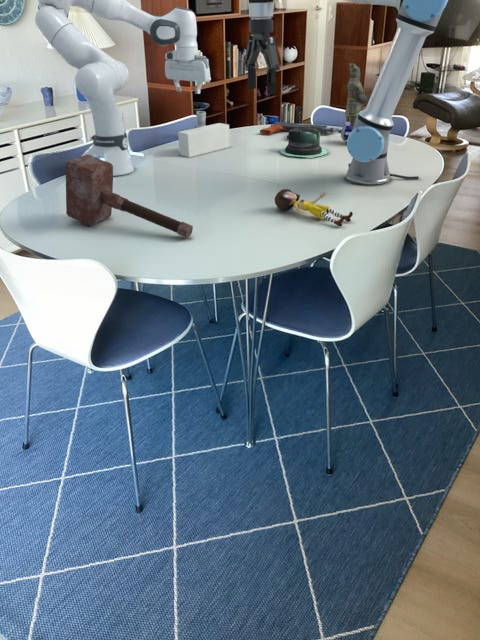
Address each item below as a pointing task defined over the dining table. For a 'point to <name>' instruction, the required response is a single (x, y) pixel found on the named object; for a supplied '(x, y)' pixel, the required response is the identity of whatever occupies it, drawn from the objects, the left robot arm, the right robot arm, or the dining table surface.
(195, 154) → the box
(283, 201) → the figurine
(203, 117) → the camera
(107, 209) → the sledgehammer
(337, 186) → the dining table surface
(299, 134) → the green hat
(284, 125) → the submachine gun
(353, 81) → the statue
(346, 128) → the toy
